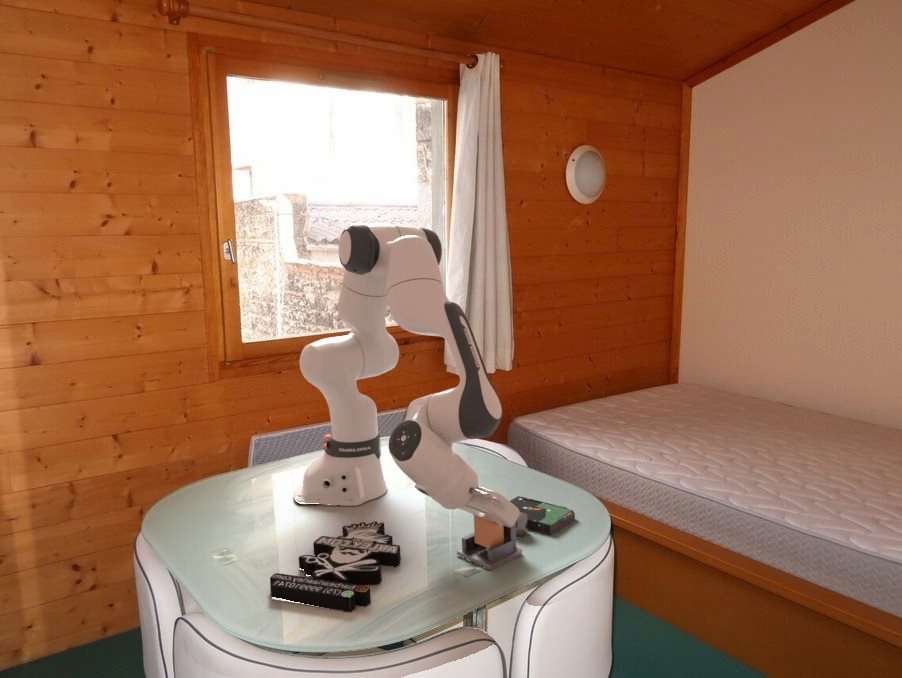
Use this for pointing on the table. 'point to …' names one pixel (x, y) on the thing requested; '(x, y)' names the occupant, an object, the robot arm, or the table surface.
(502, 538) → the orange tall block
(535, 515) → the disk drive
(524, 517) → the link stub
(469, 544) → the keeper
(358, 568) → the sign
